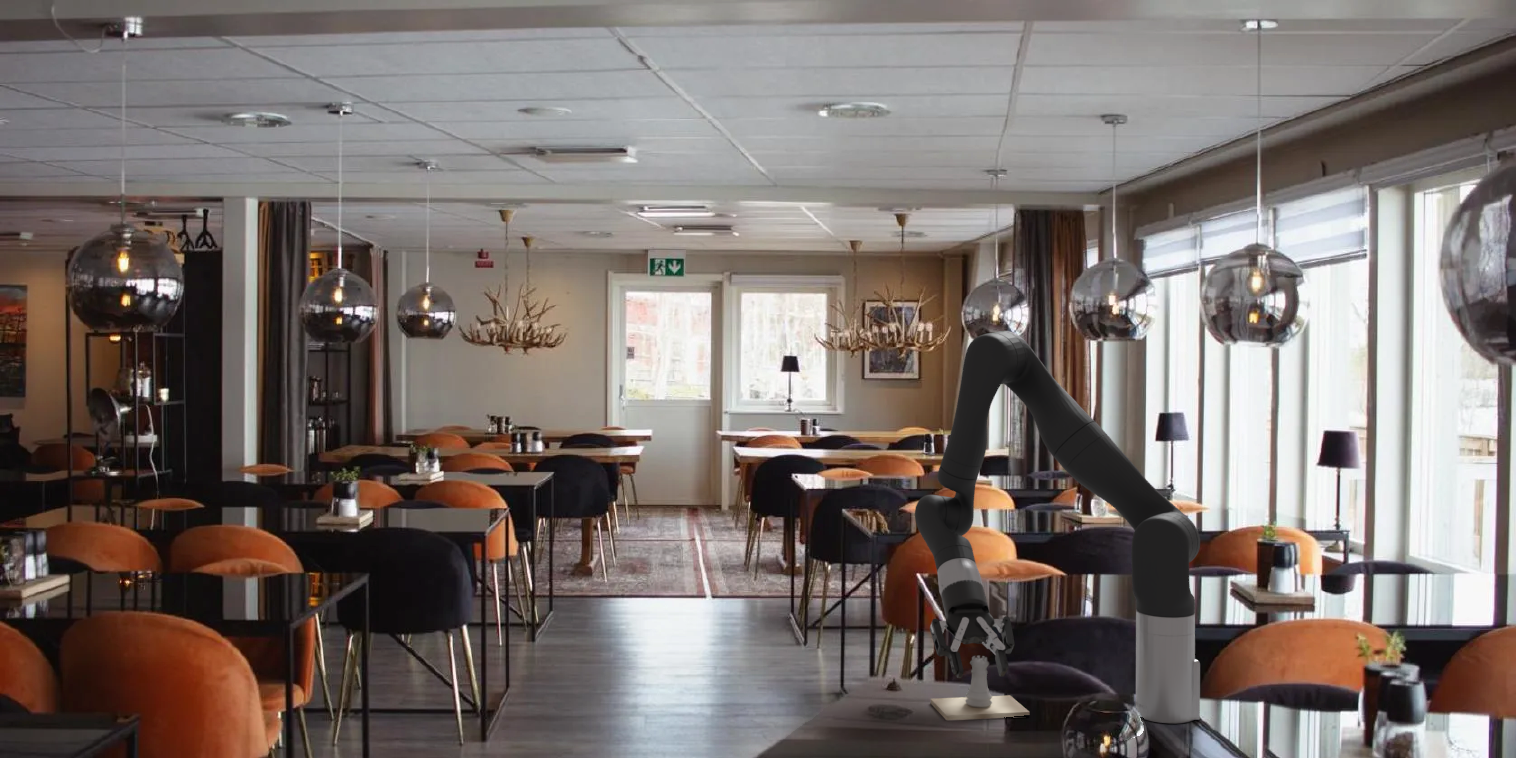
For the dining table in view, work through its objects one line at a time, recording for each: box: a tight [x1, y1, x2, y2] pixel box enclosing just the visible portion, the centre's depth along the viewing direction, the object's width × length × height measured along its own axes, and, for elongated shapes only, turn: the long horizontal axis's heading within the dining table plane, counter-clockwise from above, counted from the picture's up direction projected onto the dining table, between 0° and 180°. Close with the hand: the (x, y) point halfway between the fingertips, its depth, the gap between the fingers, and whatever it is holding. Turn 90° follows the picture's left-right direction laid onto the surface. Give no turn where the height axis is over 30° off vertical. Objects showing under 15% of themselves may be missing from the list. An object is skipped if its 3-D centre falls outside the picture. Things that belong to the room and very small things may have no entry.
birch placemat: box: [930, 695, 1030, 721], centre depth 217 cm, size 14×10×1 cm
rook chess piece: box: [965, 654, 993, 708], centre depth 217 cm, size 4×4×8 cm
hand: (981, 674), depth 216 cm, fingers open, 6 cm apart
